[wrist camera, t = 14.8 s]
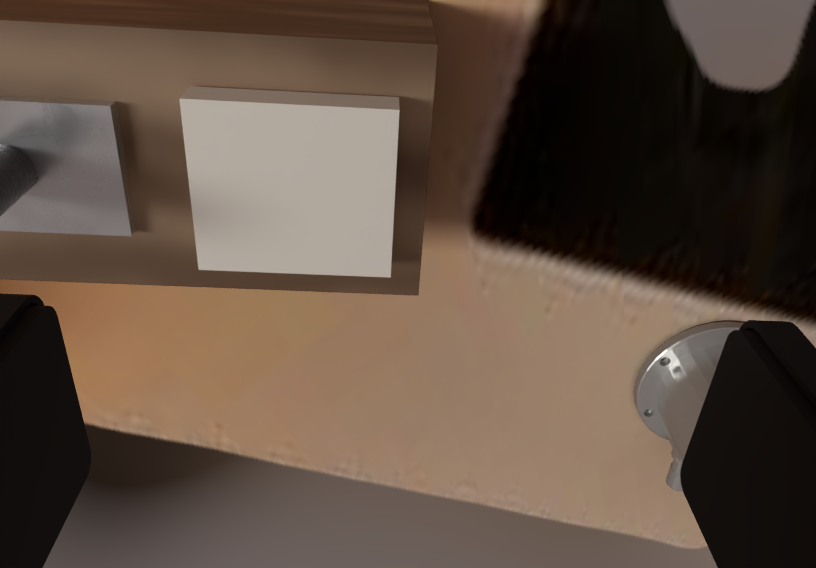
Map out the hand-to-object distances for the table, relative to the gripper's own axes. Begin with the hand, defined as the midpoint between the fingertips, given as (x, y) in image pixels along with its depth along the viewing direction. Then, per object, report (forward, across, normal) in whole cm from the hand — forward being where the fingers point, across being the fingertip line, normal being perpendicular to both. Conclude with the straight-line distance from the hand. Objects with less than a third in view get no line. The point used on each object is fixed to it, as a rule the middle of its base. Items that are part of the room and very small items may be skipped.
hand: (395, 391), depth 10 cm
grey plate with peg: (+26, +17, +8) cm, 32 cm away
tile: (+25, +10, +8) cm, 28 cm away
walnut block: (+38, +12, +8) cm, 41 cm away
